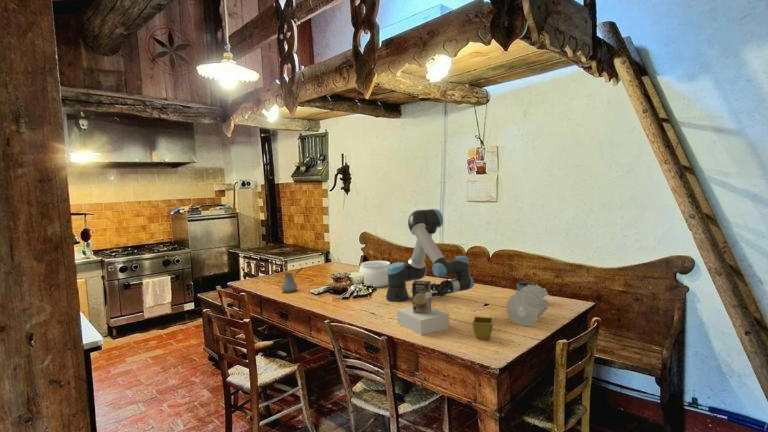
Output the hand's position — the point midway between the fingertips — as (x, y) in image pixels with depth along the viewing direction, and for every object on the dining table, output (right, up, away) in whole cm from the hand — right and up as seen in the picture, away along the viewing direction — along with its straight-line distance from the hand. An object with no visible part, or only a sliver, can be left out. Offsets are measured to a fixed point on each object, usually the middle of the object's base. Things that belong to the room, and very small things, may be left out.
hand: (418, 292), depth 211 cm
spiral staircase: (+59, -16, +3) cm, 61 cm away
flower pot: (+30, -19, -18) cm, 40 cm away
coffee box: (+2, -11, +2) cm, 11 cm away
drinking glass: (+69, -13, +35) cm, 79 cm away
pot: (-24, -12, +97) cm, 101 cm away
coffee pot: (-85, -15, +90) cm, 125 cm away
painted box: (+3, -18, +2) cm, 19 cm away
